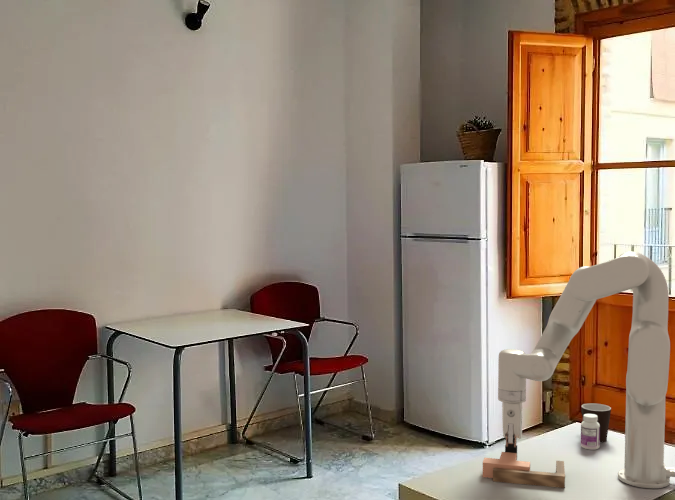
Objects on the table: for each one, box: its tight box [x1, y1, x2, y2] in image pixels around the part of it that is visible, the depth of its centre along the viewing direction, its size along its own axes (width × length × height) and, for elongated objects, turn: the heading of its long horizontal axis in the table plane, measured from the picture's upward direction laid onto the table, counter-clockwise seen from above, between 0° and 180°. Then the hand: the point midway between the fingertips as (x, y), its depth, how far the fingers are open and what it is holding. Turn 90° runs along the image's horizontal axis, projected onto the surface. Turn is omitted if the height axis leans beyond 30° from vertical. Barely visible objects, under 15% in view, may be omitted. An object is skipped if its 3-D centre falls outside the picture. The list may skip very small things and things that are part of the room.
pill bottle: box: [580, 414, 601, 451], centre depth 228 cm, size 5×5×10 cm
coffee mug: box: [580, 403, 612, 443], centre depth 237 cm, size 12×9×10 cm
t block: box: [482, 451, 531, 479], centre depth 206 cm, size 12×10×4 cm
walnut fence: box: [492, 460, 566, 489], centre depth 203 cm, size 18×12×3 cm, turn 75°
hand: (511, 459), depth 213 cm, fingers closed
